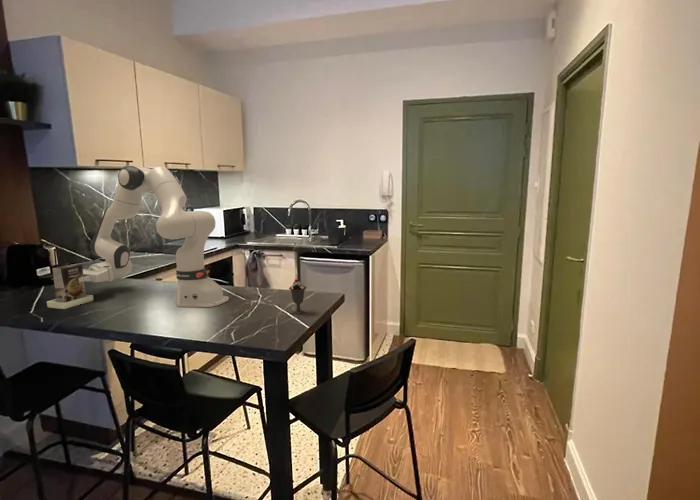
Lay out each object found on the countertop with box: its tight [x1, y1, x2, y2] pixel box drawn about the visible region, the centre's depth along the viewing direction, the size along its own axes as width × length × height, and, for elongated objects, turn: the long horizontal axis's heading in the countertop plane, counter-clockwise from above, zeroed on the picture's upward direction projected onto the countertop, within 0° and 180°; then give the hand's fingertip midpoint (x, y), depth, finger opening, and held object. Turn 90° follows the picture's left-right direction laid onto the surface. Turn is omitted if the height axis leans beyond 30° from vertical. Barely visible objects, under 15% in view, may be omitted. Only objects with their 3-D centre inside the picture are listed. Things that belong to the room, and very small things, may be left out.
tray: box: [46, 294, 94, 310], centre depth 179 cm, size 10×13×2 cm
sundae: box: [288, 274, 307, 316], centre depth 161 cm, size 7×7×15 cm
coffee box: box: [52, 263, 87, 303], centre depth 178 cm, size 9×6×16 cm
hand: (70, 279), depth 178 cm, fingers open, 8 cm apart
